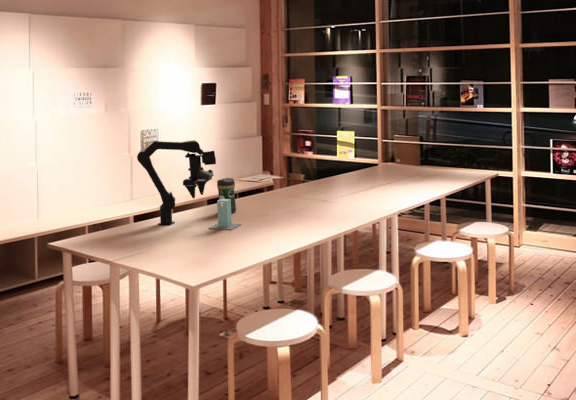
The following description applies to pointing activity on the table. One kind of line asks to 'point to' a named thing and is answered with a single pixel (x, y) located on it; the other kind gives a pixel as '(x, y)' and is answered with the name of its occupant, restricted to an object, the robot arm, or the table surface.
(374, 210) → the table surface
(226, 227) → the mat
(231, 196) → the coffee jar
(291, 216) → the table surface
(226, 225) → the teal tall block
